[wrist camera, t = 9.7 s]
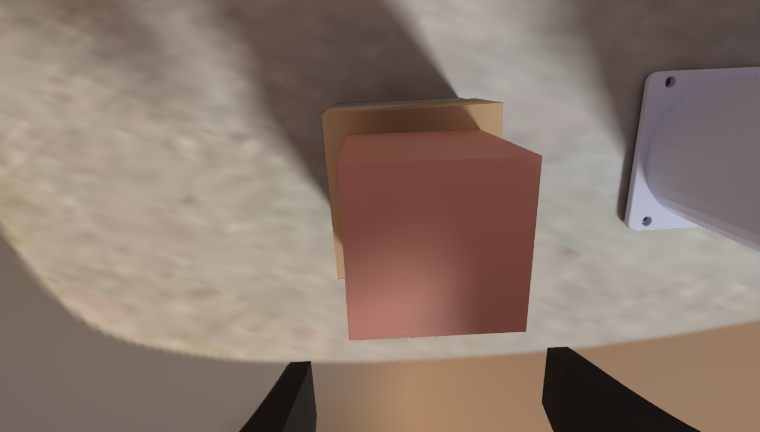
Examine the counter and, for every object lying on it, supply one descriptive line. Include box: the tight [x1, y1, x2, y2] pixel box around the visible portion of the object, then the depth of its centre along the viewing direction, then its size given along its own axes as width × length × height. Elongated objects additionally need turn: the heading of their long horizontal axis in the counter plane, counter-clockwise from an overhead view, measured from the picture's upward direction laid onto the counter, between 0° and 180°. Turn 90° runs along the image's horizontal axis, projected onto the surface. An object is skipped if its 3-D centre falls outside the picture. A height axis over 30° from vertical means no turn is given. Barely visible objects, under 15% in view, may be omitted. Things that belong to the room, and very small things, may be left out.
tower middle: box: [321, 98, 503, 279], centre depth 16 cm, size 6×6×4 cm
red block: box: [338, 130, 542, 340], centre depth 12 cm, size 4×4×5 cm
